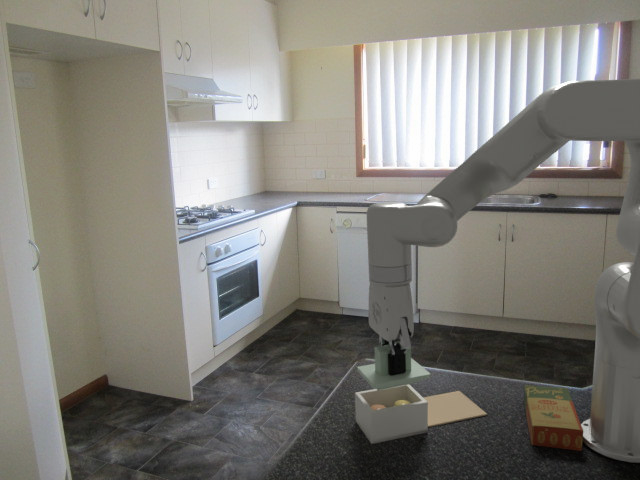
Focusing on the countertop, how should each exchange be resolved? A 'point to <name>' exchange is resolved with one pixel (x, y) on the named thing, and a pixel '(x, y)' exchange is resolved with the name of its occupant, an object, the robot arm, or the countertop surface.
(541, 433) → the carton
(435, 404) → the mat
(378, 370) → the lid
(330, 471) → the countertop surface
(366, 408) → the tub
